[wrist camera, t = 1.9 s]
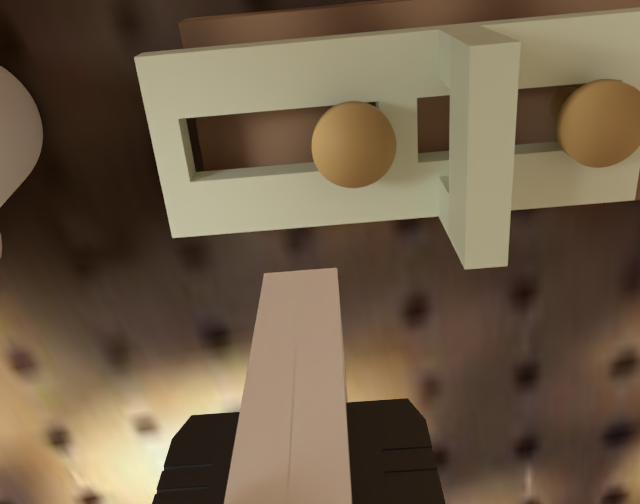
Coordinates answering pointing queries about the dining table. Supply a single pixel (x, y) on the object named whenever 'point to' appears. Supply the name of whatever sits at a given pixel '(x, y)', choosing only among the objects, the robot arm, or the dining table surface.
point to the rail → (432, 112)
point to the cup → (17, 135)
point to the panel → (394, 125)
